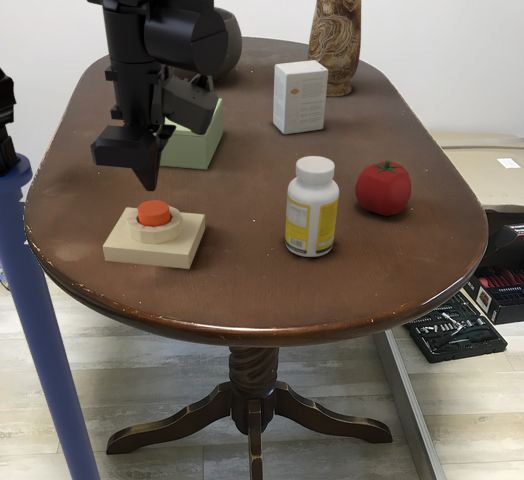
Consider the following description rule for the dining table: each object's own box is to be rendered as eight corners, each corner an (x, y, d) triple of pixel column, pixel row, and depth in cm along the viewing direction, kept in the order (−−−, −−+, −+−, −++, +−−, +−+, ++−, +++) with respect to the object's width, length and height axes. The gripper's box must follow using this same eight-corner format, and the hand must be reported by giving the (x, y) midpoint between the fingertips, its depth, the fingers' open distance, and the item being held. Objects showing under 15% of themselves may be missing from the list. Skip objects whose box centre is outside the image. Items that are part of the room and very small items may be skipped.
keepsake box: (133, 163, 96) (129, 131, 92) (157, 128, 107) (154, 98, 103) (206, 169, 95) (205, 137, 91) (223, 133, 106) (222, 103, 102)
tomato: (343, 208, 87) (349, 161, 82) (375, 190, 91) (383, 145, 86) (388, 228, 83) (397, 181, 78) (419, 209, 87) (430, 162, 82)
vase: (358, 84, 127) (381, -89, 106) (350, 101, 119) (373, -81, 99) (311, 78, 129) (324, -93, 108) (300, 95, 121) (312, -86, 101)
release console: (105, 260, 75) (100, 233, 73) (128, 221, 83) (124, 195, 80) (189, 269, 75) (187, 242, 72) (205, 228, 82) (204, 202, 79)
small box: (311, 118, 112) (316, 59, 105) (323, 130, 108) (329, 69, 101) (272, 123, 110) (274, 63, 103) (283, 135, 106) (286, 73, 99)
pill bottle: (337, 238, 81) (348, 157, 73) (325, 263, 76) (335, 180, 68) (292, 229, 82) (297, 149, 74) (278, 253, 78) (282, 170, 70)
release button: (135, 226, 75) (133, 214, 74) (143, 210, 78) (142, 198, 77) (165, 229, 75) (164, 216, 73) (173, 213, 77) (172, 201, 76)
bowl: (146, 71, 129) (140, 5, 121) (221, 61, 136) (220, -2, 127) (175, 98, 118) (170, 28, 109) (256, 86, 124) (257, 19, 116)
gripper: (191, 91, 55) (198, 235, 66) (226, 36, 69) (228, 162, 80) (76, 82, 56) (102, 226, 67) (133, 29, 70) (147, 155, 80)
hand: (151, 189), depth 73 cm, fingers closed
